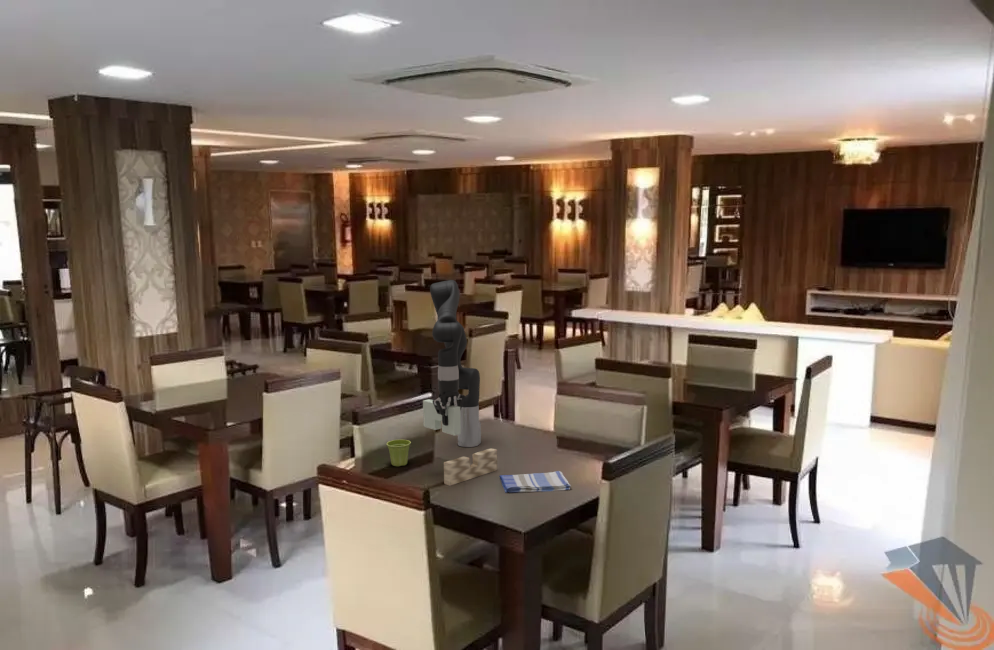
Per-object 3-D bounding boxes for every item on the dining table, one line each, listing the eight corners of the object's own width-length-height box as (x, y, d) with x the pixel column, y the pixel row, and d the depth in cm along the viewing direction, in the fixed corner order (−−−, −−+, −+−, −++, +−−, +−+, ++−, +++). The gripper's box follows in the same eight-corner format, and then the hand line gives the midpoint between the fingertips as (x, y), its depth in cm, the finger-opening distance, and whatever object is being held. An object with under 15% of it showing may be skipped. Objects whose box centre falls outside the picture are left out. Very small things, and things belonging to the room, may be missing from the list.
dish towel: (571, 491, 255) (571, 484, 255) (505, 495, 253) (505, 487, 252) (561, 475, 272) (561, 468, 272) (499, 478, 270) (499, 471, 269)
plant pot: (404, 468, 281) (404, 447, 280) (383, 466, 284) (382, 445, 283) (415, 461, 290) (414, 440, 289) (394, 459, 293) (393, 438, 292)
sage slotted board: (429, 425, 276) (429, 399, 275) (460, 434, 263) (460, 407, 262) (423, 426, 274) (422, 400, 273) (454, 435, 261) (453, 408, 260)
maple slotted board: (491, 468, 280) (491, 448, 279) (497, 470, 278) (496, 449, 277) (444, 483, 263) (443, 462, 263) (449, 485, 261) (449, 464, 260)
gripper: (456, 373, 271) (457, 419, 273) (426, 379, 261) (427, 426, 263) (469, 376, 265) (470, 422, 267) (439, 381, 256) (440, 430, 258)
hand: (449, 424), depth 265 cm, fingers closed on sage slotted board, 3 cm apart
